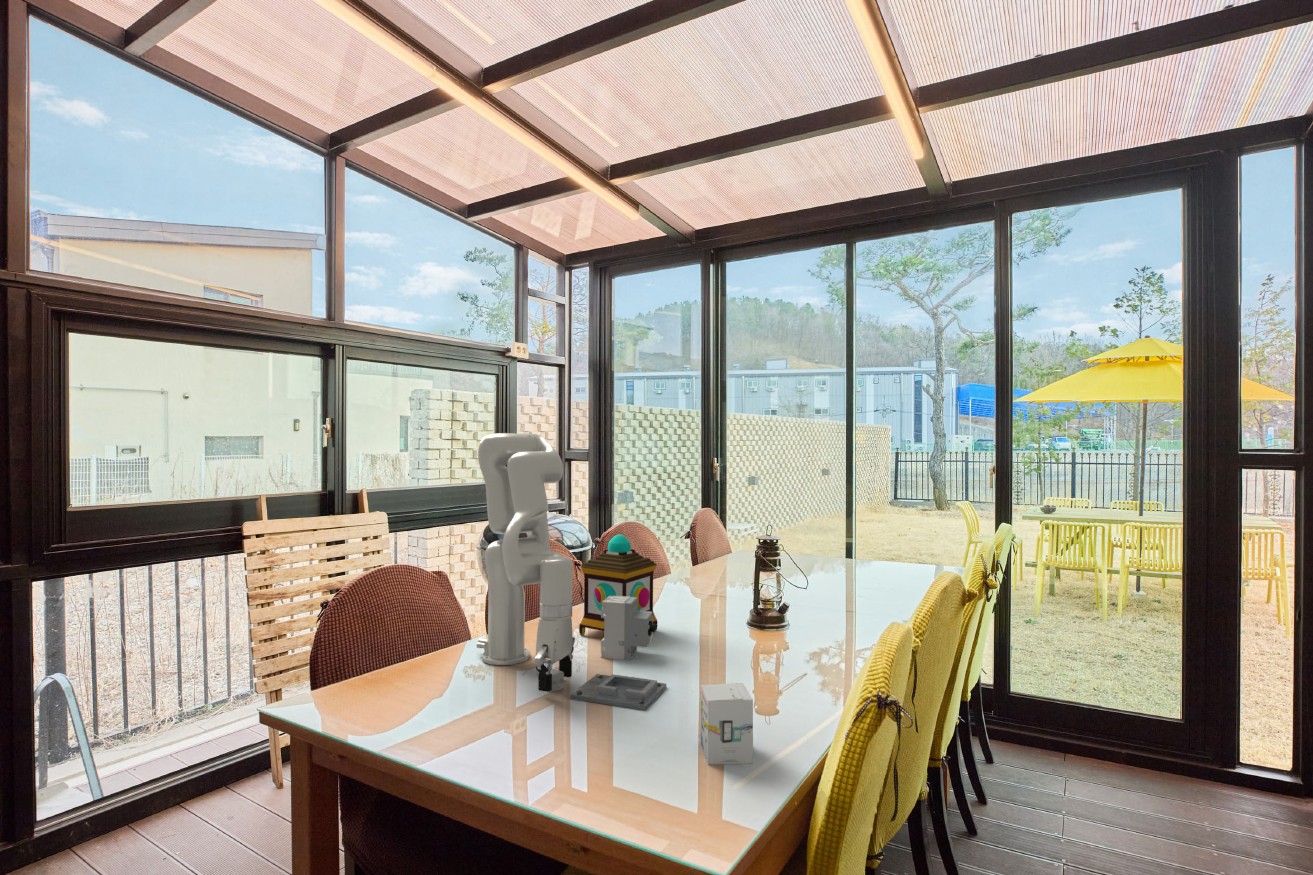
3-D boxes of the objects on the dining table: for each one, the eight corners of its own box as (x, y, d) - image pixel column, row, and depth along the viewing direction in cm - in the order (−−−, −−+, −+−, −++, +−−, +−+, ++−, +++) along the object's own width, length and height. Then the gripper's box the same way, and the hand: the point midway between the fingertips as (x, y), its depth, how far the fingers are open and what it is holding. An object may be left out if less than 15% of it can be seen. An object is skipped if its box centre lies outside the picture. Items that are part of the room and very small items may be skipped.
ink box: (699, 743, 126) (700, 682, 126) (743, 742, 126) (743, 681, 126) (707, 765, 117) (707, 700, 117) (753, 763, 118) (754, 698, 118)
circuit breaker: (652, 661, 173) (653, 604, 173) (600, 657, 176) (601, 601, 176) (658, 652, 180) (658, 598, 180) (608, 649, 183) (608, 595, 183)
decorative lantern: (664, 630, 202) (664, 533, 202) (627, 647, 185) (627, 541, 185) (611, 621, 212) (612, 528, 213) (572, 635, 196) (572, 535, 196)
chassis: (570, 698, 147) (570, 687, 147) (596, 677, 160) (597, 667, 160) (645, 710, 141) (645, 698, 141) (666, 687, 154) (666, 677, 154)
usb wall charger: (551, 683, 157) (551, 666, 157) (571, 690, 152) (571, 673, 153) (538, 688, 154) (538, 670, 154) (558, 695, 149) (558, 677, 149)
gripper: (559, 600, 163) (558, 669, 162) (522, 617, 146) (521, 694, 146) (586, 603, 160) (586, 673, 160) (552, 620, 144) (551, 699, 144)
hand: (555, 683), depth 153 cm, fingers open, 9 cm apart
